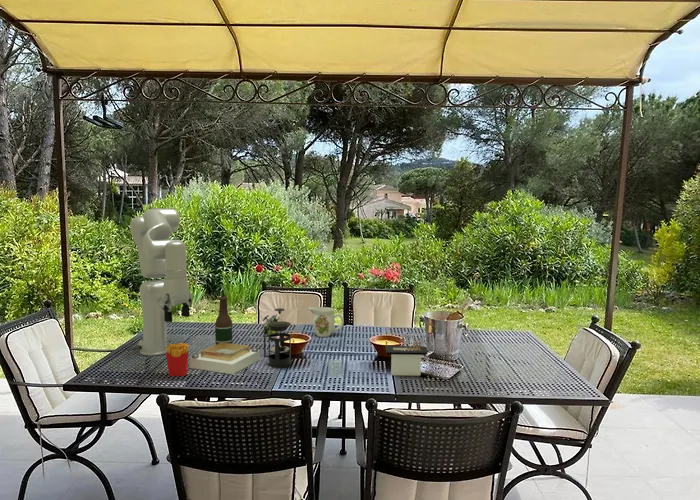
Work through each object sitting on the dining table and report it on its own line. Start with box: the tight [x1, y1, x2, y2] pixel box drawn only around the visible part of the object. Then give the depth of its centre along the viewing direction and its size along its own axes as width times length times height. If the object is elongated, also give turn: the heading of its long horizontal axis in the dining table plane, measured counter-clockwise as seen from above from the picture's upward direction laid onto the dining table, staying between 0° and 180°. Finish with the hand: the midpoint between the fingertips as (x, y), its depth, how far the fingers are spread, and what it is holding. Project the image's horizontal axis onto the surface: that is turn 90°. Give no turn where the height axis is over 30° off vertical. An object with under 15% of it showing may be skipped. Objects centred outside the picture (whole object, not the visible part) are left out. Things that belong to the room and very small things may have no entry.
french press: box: [263, 308, 292, 369], centre depth 213 cm, size 12×9×23 cm
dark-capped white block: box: [384, 337, 428, 377], centre depth 203 cm, size 35×28×14 cm
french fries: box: [165, 342, 190, 377], centre depth 200 cm, size 8×4×12 cm, turn 92°
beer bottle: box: [214, 296, 233, 345], centre depth 232 cm, size 8×8×24 cm
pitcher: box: [307, 306, 345, 338], centre depth 259 cm, size 11×18×14 cm, turn 88°
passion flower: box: [262, 313, 282, 335], centre depth 263 cm, size 11×11×12 cm
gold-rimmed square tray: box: [189, 342, 261, 375], centre depth 213 cm, size 20×20×6 cm
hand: (177, 319), depth 198 cm, fingers open, 9 cm apart
